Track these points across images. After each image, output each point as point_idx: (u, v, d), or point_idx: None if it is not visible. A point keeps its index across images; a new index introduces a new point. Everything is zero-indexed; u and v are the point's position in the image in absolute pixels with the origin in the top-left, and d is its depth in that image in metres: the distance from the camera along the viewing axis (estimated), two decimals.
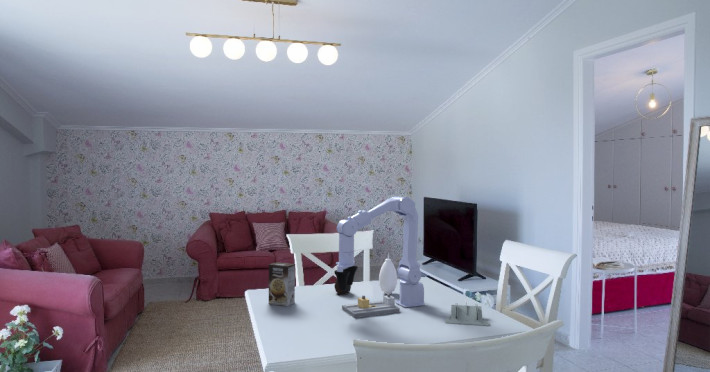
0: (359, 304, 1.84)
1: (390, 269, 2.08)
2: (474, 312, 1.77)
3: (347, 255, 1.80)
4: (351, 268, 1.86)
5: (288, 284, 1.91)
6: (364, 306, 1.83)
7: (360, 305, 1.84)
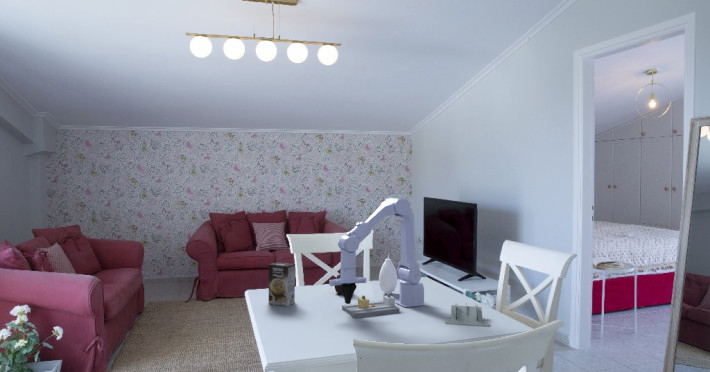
0: (359, 304, 1.84)
1: (390, 269, 2.08)
2: (474, 313, 1.76)
3: (343, 271, 1.79)
4: (349, 286, 1.81)
5: (288, 284, 1.91)
6: (364, 306, 1.83)
7: (360, 305, 1.84)
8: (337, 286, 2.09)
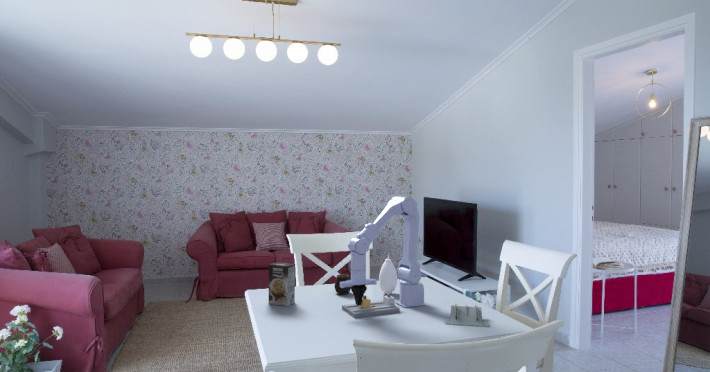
0: None
1: (390, 269, 2.08)
2: (474, 313, 1.76)
3: (353, 273, 1.81)
4: None
5: (288, 284, 1.91)
6: (365, 306, 1.83)
7: (361, 305, 1.84)
8: (337, 286, 2.09)
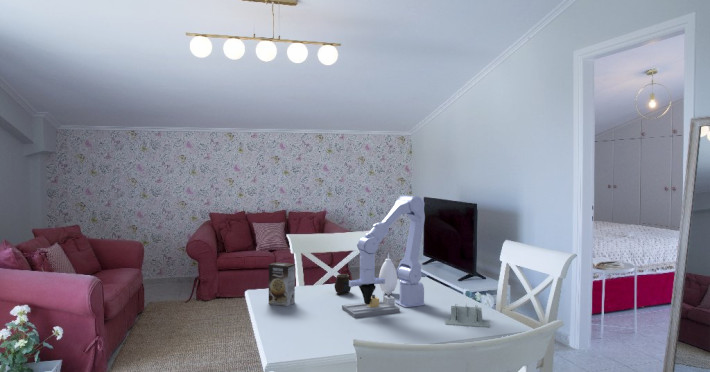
0: None
1: (390, 269, 2.08)
2: (474, 313, 1.75)
3: (362, 272, 1.83)
4: None
5: (288, 284, 1.91)
6: (374, 305, 1.84)
7: (370, 304, 1.85)
8: (337, 286, 2.09)
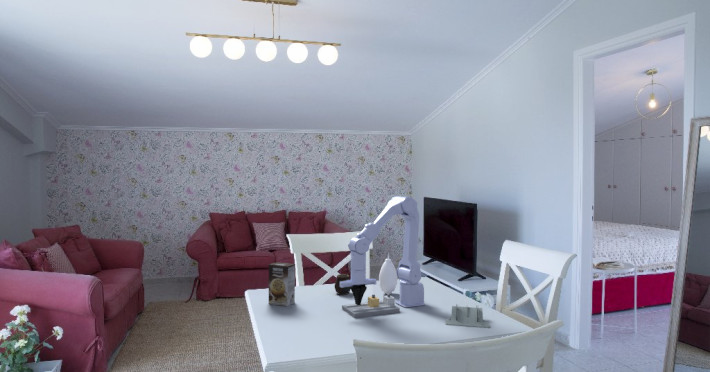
0: (369, 303, 1.86)
1: (390, 269, 2.08)
2: (475, 314, 1.75)
3: (353, 272, 1.81)
4: (359, 288, 1.83)
5: (288, 284, 1.91)
6: (374, 305, 1.84)
7: (370, 304, 1.85)
8: (337, 286, 2.09)
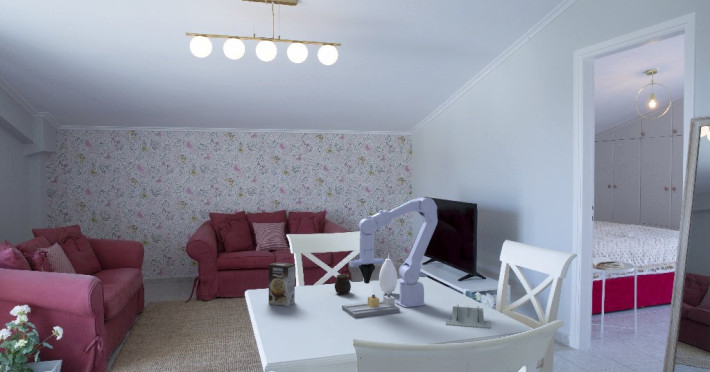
0: (369, 303, 1.86)
1: (390, 269, 2.08)
2: (476, 314, 1.74)
3: (362, 252, 1.89)
4: (368, 267, 1.91)
5: (288, 284, 1.91)
6: (374, 305, 1.84)
7: (370, 304, 1.85)
8: (337, 286, 2.09)
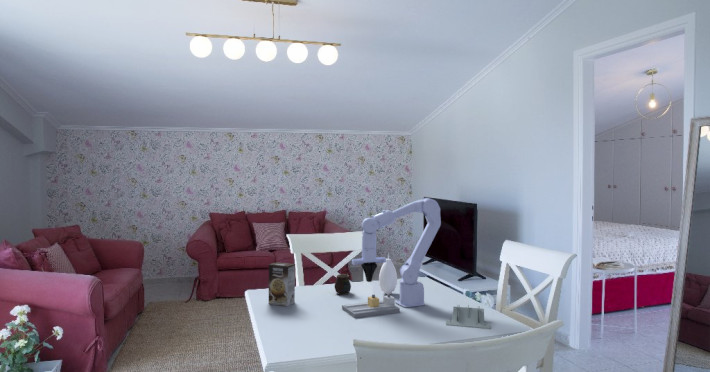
0: (369, 303, 1.86)
1: (390, 269, 2.08)
2: (476, 314, 1.74)
3: (364, 251, 1.92)
4: (370, 265, 1.93)
5: (288, 284, 1.91)
6: (374, 305, 1.84)
7: (370, 304, 1.85)
8: (337, 286, 2.09)
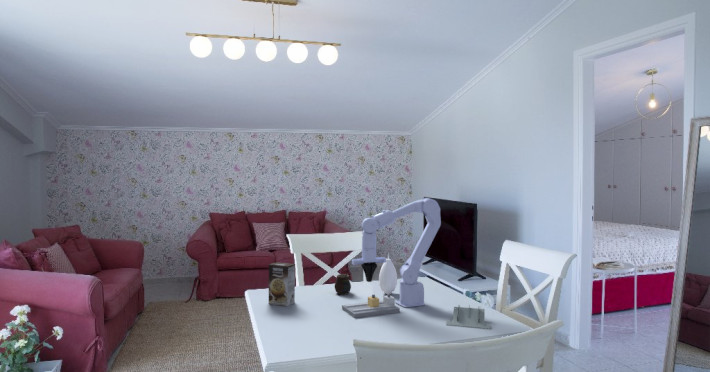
0: (369, 303, 1.86)
1: (390, 269, 2.08)
2: (477, 315, 1.74)
3: (364, 251, 1.92)
4: (370, 265, 1.93)
5: (288, 284, 1.91)
6: (374, 305, 1.84)
7: (370, 304, 1.85)
8: (337, 286, 2.09)
